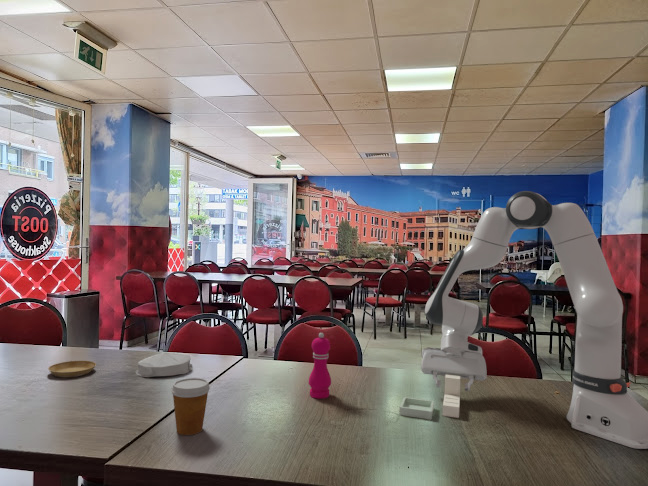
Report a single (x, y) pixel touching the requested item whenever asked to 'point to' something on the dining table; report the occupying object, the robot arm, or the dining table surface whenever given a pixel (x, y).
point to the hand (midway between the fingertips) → (452, 388)
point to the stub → (452, 384)
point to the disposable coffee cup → (190, 404)
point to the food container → (164, 365)
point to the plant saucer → (72, 368)
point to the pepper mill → (320, 368)
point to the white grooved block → (451, 405)
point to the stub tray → (417, 408)
